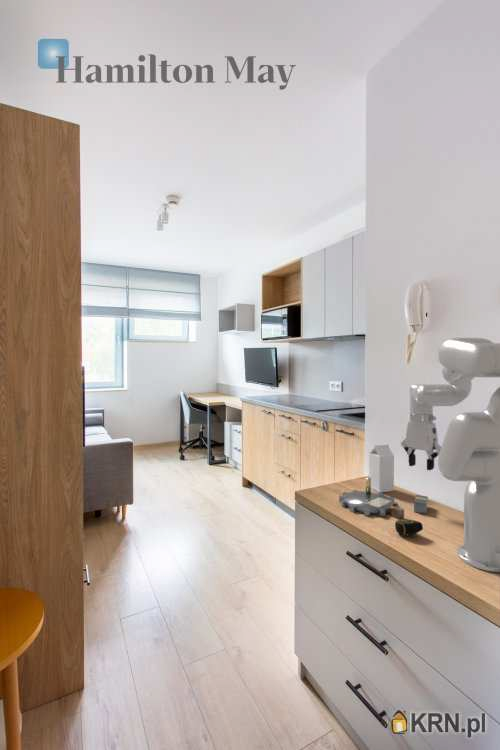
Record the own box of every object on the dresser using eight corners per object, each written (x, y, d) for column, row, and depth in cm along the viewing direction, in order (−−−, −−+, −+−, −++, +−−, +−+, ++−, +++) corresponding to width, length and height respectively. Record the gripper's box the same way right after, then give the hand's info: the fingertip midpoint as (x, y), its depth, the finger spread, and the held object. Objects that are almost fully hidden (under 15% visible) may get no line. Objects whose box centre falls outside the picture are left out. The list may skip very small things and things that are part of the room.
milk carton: (393, 491, 150) (394, 446, 150) (379, 493, 148) (379, 447, 147) (382, 485, 157) (383, 442, 156) (368, 487, 155) (369, 443, 154)
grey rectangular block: (427, 507, 134) (427, 496, 134) (426, 514, 127) (426, 503, 127) (415, 505, 136) (416, 494, 135) (413, 512, 129) (414, 501, 128)
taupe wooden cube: (403, 517, 124) (404, 509, 124) (399, 519, 122) (399, 510, 122) (396, 514, 126) (396, 506, 126) (392, 516, 125) (392, 507, 125)
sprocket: (378, 493, 147) (378, 474, 146) (409, 514, 126) (410, 491, 126) (330, 496, 143) (330, 476, 143) (354, 518, 122) (355, 495, 122)
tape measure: (425, 533, 109) (422, 520, 110) (408, 538, 107) (406, 525, 107) (407, 529, 115) (405, 517, 116) (391, 534, 113) (389, 521, 113)
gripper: (450, 420, 125) (450, 471, 125) (405, 415, 140) (405, 461, 140) (439, 421, 121) (439, 474, 121) (393, 416, 135) (393, 464, 135)
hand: (421, 467), depth 130 cm, fingers open, 6 cm apart
